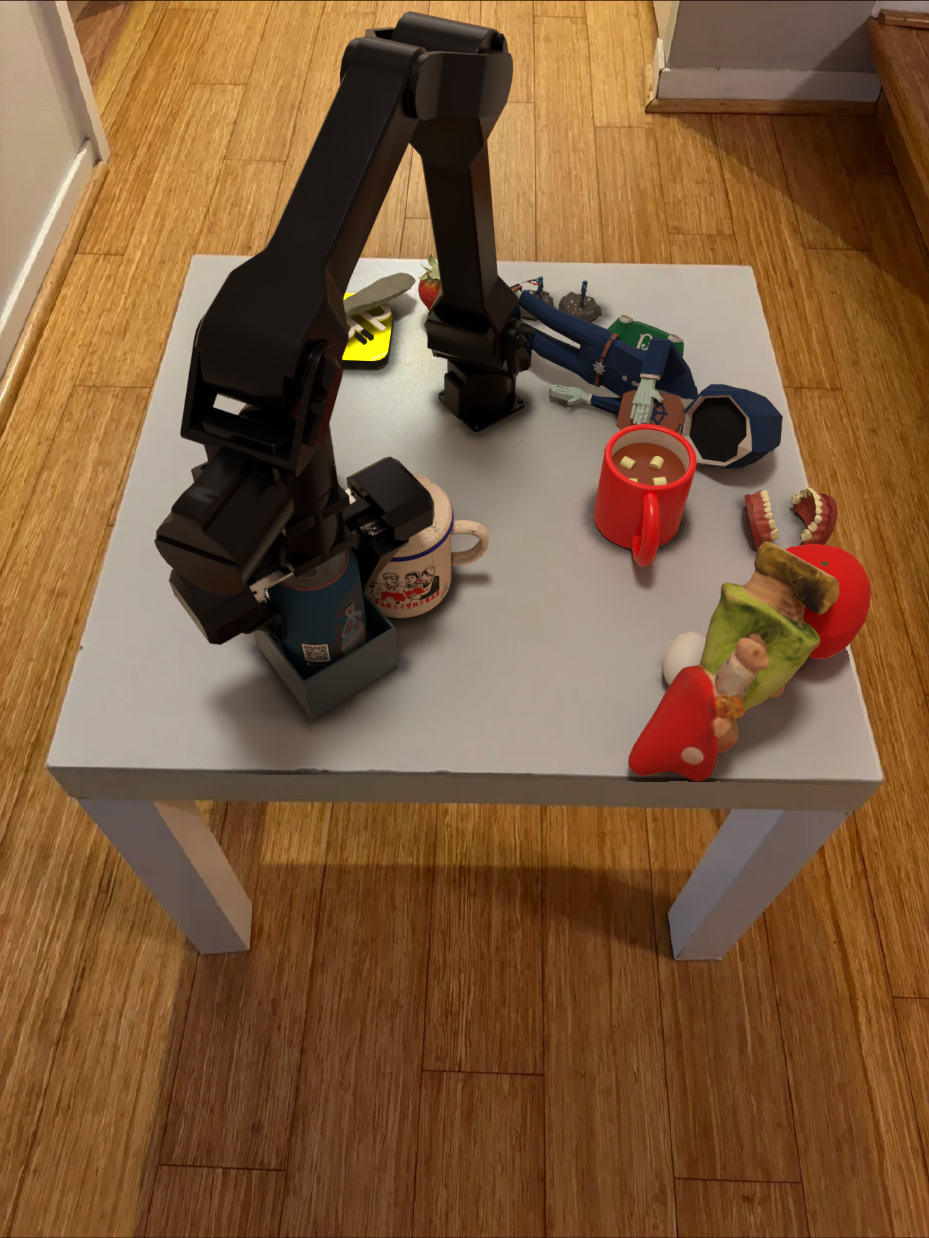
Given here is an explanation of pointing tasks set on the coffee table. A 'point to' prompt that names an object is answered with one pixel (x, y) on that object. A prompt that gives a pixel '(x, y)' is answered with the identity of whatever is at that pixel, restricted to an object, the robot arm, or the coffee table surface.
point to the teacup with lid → (425, 562)
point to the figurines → (567, 302)
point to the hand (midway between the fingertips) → (320, 613)
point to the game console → (368, 338)
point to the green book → (642, 333)
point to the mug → (644, 488)
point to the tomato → (850, 605)
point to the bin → (337, 664)
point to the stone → (378, 293)
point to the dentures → (807, 503)
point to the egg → (683, 654)
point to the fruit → (429, 283)
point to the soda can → (322, 613)
